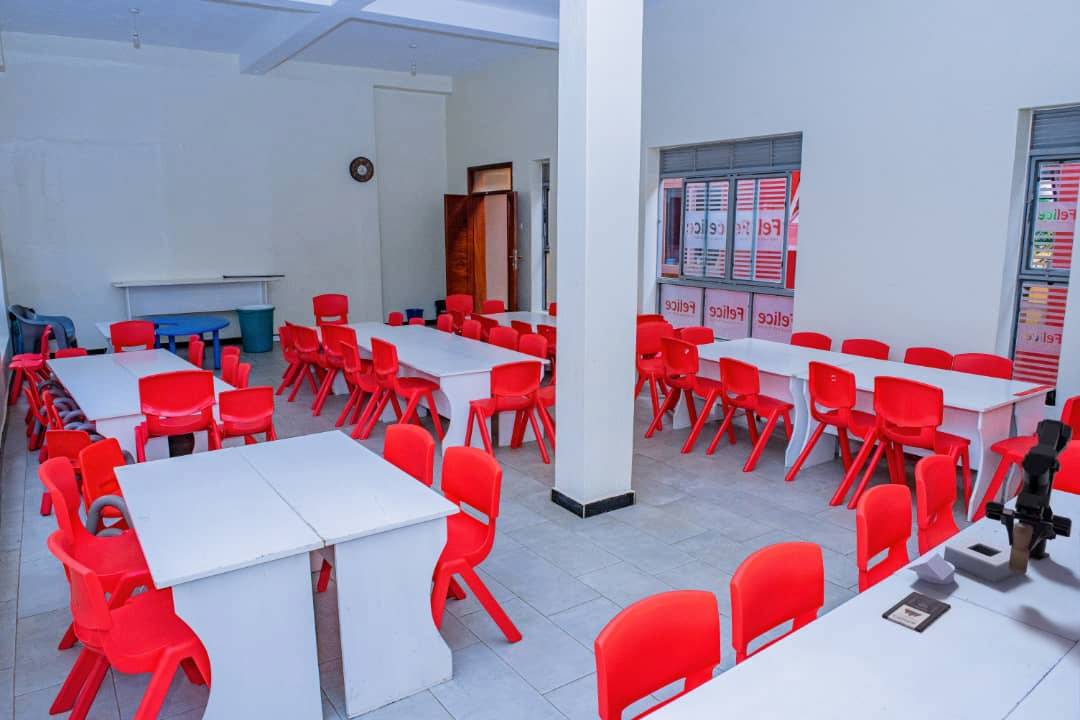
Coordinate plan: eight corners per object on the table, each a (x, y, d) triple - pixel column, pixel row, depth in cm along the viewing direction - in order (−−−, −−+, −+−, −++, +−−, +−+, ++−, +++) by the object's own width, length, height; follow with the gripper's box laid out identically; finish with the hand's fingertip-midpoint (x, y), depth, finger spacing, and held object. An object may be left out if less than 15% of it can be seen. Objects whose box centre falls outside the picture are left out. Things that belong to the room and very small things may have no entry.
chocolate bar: (950, 605, 191) (920, 630, 179) (950, 608, 191) (919, 633, 179) (913, 591, 197) (882, 614, 186) (913, 594, 198) (881, 618, 186)
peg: (1013, 565, 199) (1019, 521, 197) (1029, 571, 196) (1036, 527, 194) (1005, 568, 197) (1011, 524, 195) (1021, 574, 194) (1028, 530, 191)
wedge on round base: (941, 592, 198) (958, 576, 207) (944, 568, 197) (961, 553, 206) (905, 580, 205) (923, 565, 214) (907, 556, 203) (926, 542, 212)
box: (971, 551, 223) (973, 535, 222) (1021, 571, 211) (1024, 554, 210) (943, 562, 215) (945, 545, 214) (994, 583, 204) (996, 565, 203)
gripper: (991, 470, 201) (976, 523, 195) (1077, 488, 189) (1064, 544, 183) (993, 491, 208) (979, 542, 202) (1076, 509, 196) (1063, 564, 190)
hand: (1020, 547), depth 194 cm, fingers closed on peg, 4 cm apart
